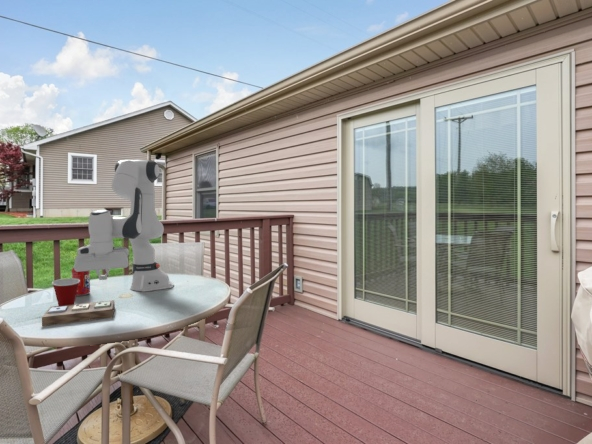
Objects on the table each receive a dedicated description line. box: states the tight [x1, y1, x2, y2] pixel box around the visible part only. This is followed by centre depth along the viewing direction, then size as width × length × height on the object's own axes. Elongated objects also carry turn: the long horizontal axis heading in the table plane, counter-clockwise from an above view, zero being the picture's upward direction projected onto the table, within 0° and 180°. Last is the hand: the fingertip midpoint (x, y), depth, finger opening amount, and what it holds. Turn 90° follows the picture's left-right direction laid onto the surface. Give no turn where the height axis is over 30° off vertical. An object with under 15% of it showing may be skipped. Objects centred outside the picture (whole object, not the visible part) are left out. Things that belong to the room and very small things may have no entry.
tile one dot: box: [48, 306, 67, 314], centre depth 136 cm, size 6×6×3 cm
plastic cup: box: [51, 277, 80, 306], centre depth 152 cm, size 11×11×12 cm
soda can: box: [71, 266, 91, 297], centre depth 172 cm, size 8×8×15 cm
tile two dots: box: [95, 301, 111, 308], centre depth 143 cm, size 6×6×3 cm
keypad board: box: [41, 299, 116, 327], centre depth 140 cm, size 24×14×4 cm, turn 116°
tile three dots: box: [72, 303, 90, 311], centre depth 140 cm, size 6×6×3 cm
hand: (103, 279), depth 143 cm, fingers closed
